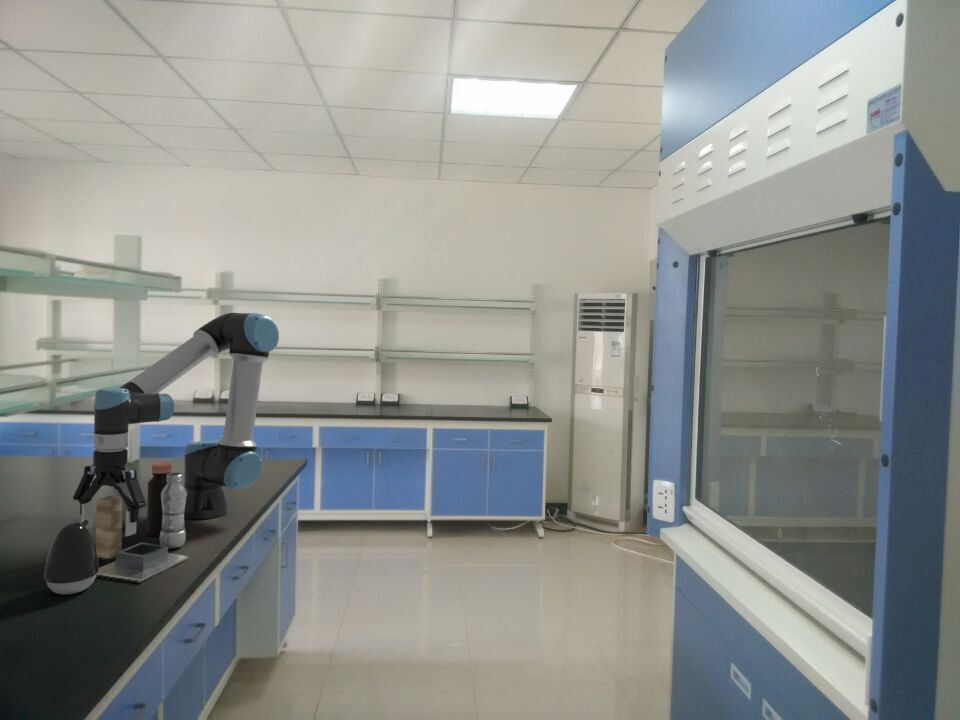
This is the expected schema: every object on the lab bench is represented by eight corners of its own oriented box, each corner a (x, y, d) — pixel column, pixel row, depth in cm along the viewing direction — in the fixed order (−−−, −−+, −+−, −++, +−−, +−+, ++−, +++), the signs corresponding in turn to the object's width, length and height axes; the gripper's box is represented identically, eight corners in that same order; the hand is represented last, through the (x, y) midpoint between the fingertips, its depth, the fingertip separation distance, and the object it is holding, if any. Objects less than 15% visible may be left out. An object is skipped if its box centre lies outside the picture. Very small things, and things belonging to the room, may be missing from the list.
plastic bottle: (178, 541, 172) (180, 470, 171) (190, 547, 168) (192, 474, 167) (154, 546, 167) (156, 473, 166) (165, 553, 163) (167, 478, 162)
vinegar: (169, 536, 175) (171, 467, 174) (143, 537, 174) (144, 466, 173) (176, 529, 182) (177, 461, 181) (151, 529, 180) (152, 461, 179)
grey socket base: (143, 552, 162) (143, 535, 162) (188, 560, 159) (189, 542, 159) (91, 575, 147) (91, 556, 147) (140, 583, 143) (141, 564, 143)
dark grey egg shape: (108, 581, 144) (109, 516, 144) (80, 600, 134) (82, 531, 133) (63, 579, 144) (64, 515, 143) (32, 598, 134) (33, 529, 133)
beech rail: (108, 552, 161) (109, 495, 161) (121, 554, 160) (122, 497, 160) (95, 557, 157) (96, 499, 157) (108, 560, 156) (109, 501, 156)
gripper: (58, 446, 157) (56, 529, 158) (140, 456, 151) (137, 542, 152) (83, 442, 164) (81, 521, 165) (163, 451, 158) (160, 532, 159)
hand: (108, 531), depth 159 cm, fingers open, 13 cm apart
